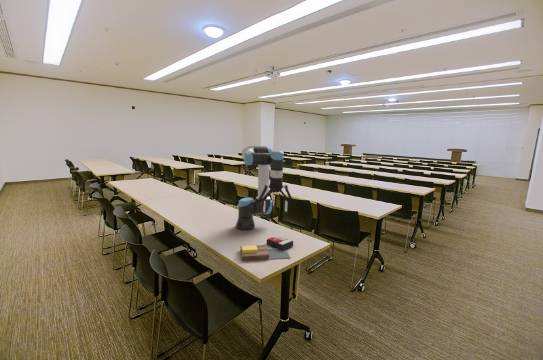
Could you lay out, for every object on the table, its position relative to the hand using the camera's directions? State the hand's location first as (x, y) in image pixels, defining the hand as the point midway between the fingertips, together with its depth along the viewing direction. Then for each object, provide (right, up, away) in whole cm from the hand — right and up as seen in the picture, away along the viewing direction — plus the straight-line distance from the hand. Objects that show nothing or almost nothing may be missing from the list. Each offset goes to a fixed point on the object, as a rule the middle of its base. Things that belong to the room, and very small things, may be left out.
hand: (275, 211), depth 156 cm
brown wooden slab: (-13, -27, +3) cm, 31 cm away
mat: (+2, -27, +6) cm, 28 cm away
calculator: (+3, -25, +18) cm, 31 cm away
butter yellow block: (-16, -25, +2) cm, 29 cm away
